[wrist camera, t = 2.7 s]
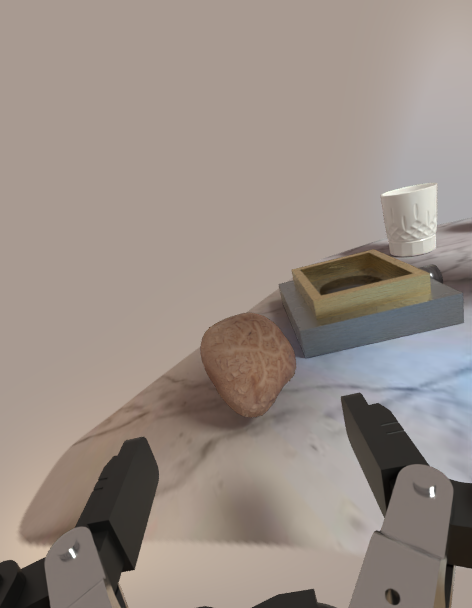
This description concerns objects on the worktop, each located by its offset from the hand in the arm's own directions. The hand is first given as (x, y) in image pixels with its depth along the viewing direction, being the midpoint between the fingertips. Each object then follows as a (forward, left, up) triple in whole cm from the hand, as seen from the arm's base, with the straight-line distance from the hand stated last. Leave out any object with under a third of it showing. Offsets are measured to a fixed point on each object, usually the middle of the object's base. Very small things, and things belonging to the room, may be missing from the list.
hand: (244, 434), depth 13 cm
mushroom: (0, -11, -8) cm, 14 cm away
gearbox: (-13, -27, -8) cm, 31 cm away
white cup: (-28, -43, -8) cm, 52 cm away
